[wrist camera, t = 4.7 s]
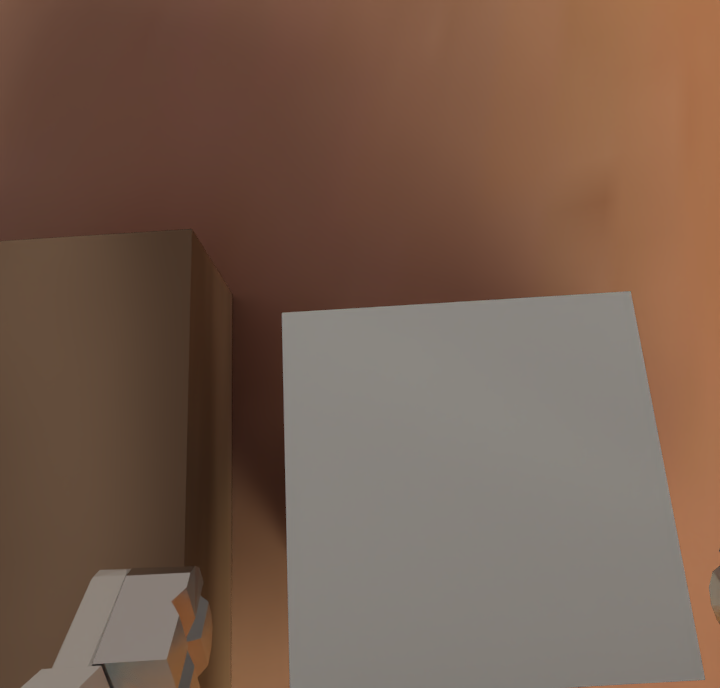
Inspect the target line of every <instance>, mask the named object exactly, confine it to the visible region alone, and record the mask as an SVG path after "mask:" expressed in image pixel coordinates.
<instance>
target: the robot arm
mask: <svg viewBox="0 0 720 688" xmlns="http://www.w3.org/2000/svg"><path fill="white" fill-rule="evenodd" d="M719 552H720V550H719ZM203 583H204V581H203V578H202V575H201V571H200V568H199V567H196V566H182V567H153V568H132V569H111V570H99V571H98V572H97V573H96V575H95V576H94V577H93V578H92V579H91V581H90V583H89V585H88V588H87V590H86V592H85V594H84V597H83V599H82V601H81V603H80V606H79V608H78V610H77V612H76V615H75V617H74V619H73V621H72V624H71V626H70V628H69V631H68V633H67V635H66V637H65V640H64V642H63V644H62V646H61V649H60V651H59V653H58V655H57V658H56V660H55V662H54V664H53V667H52V668H48V669H41V670H40V671H39V672H38V673H37V674H35V675H34V676H33V677H32V678H31V679H30V680H29V681H28V682H26V683H25V684H24V685H23V686H22V687H21V688H200V684H199V681H198V676H199V675H200V674H201V673H202V672H203V671H204V670H205V669H206V667H207V666H208V663H209V658H210V653H211V647H212V630H213V625H212V614H211V609H210V605H209V602H208V601H207V600H206V599H204V598H203V597H202V596H201V592H202V587H203ZM709 591H710V599H711V606H712V608H713V611H714V613H715V616H716V619H717V621H718V622H719V624H720V566H719V567H718V568H716V569H715V570H714V571H713V573H712V577H711V581H710V585H709Z"/></svg>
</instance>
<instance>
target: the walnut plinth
mask: <svg viewBox="0 0 720 688" xmlns="http://www.w3.org/2000/svg"><path fill="white" fill-rule="evenodd" d="M231 563H232V293H231V291H230V290H229V288H228V287H227V285H226V283H225V282H224V280H223V278H222V277H221V275H220V274H219V272H218V270H217V269H216V267H215V266H214V264H213V262H212V261H211V259H210V257H209V256H208V254H207V253H206V251H205V249H204V248H203V246H202V244H201V243H200V241H199V240H198V238H197V236H196V235H195V233H194V232H193V230H192V229H184V230H168V231H152V232H136V233H120V234H104V235H88V236H72V237H56V238H40V239H24V240H8V241H0V688H21V687H22V686H23V685H24V684H25V683H26V682H28V681H29V680H30V679H31V678H32V677H33V676H34V675H35V674H37V673H38V672H39V671H40V670H41V669H48V668H52V667H53V664H54V662H55V660H56V658H57V655H58V653H59V651H60V649H61V646H62V644H63V642H64V640H65V637H66V635H67V633H68V631H69V628H70V626H71V624H72V621H73V619H74V617H75V615H76V612H77V610H78V608H79V606H80V603H81V601H82V599H83V597H84V594H85V592H86V590H87V588H88V585H89V583H90V581H91V579H92V578H93V577H94V576H95V575H96V573H97V572H98V571H99V570H111V569H132V568H153V567H182V566H196V567H199V568H200V571H201V575H202V578H203V581H204V583H203V587H202V592H201V596H202V597H203V598H204V599H206V600H207V601H208V602H209V605H210V609H211V614H212V625H213V630H212V647H211V653H210V658H209V663H208V666H207V667H206V669H205V670H204V671H203V672H202V673H201V674H200V675H199V676H198V681H199V684H200V688H231Z"/></svg>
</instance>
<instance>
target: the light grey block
mask: <svg viewBox="0 0 720 688" xmlns="http://www.w3.org/2000/svg"><path fill="white" fill-rule="evenodd" d="M282 346H283V393H284V439H285V486H286V532H287V579H288V625H289V672H290V688H569V687H586V686H604V685H622V684H640V683H658V682H676V681H694V680H705V676H704V671H703V665H702V660H701V655H700V650H699V645H698V639H697V634H696V629H695V624H694V619H693V613H692V608H691V603H690V598H689V593H688V587H687V582H686V577H685V572H684V567H683V561H682V556H681V551H680V546H679V541H678V535H677V530H676V525H675V520H674V515H673V509H672V504H671V499H670V494H669V489H668V483H667V478H666V473H665V468H664V463H663V457H662V452H661V447H660V442H659V437H658V431H657V426H656V421H655V416H654V410H653V405H652V400H651V395H650V390H649V384H648V379H647V374H646V369H645V364H644V358H643V353H642V348H641V343H640V338H639V332H638V327H637V322H636V317H635V312H634V306H633V301H632V296H631V291H627V292H611V293H594V294H578V295H562V296H546V297H529V298H513V299H497V300H481V301H464V302H448V303H432V304H416V305H399V306H383V307H367V308H351V309H334V310H318V311H302V312H286V313H282Z"/></svg>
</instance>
